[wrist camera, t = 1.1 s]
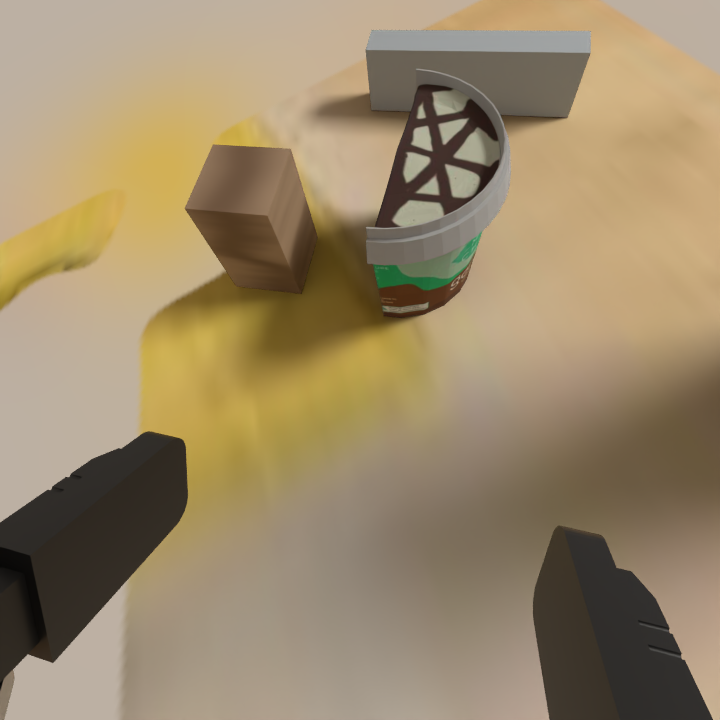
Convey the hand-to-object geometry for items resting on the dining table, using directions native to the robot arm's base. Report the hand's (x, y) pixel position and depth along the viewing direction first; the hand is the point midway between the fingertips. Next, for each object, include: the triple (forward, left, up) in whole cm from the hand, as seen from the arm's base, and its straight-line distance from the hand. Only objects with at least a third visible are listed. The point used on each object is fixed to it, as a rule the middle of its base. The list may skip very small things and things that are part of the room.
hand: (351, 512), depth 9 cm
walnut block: (+11, -17, -17) cm, 26 cm away
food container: (-1, -18, -17) cm, 25 cm away
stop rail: (-1, -35, -16) cm, 38 cm away
